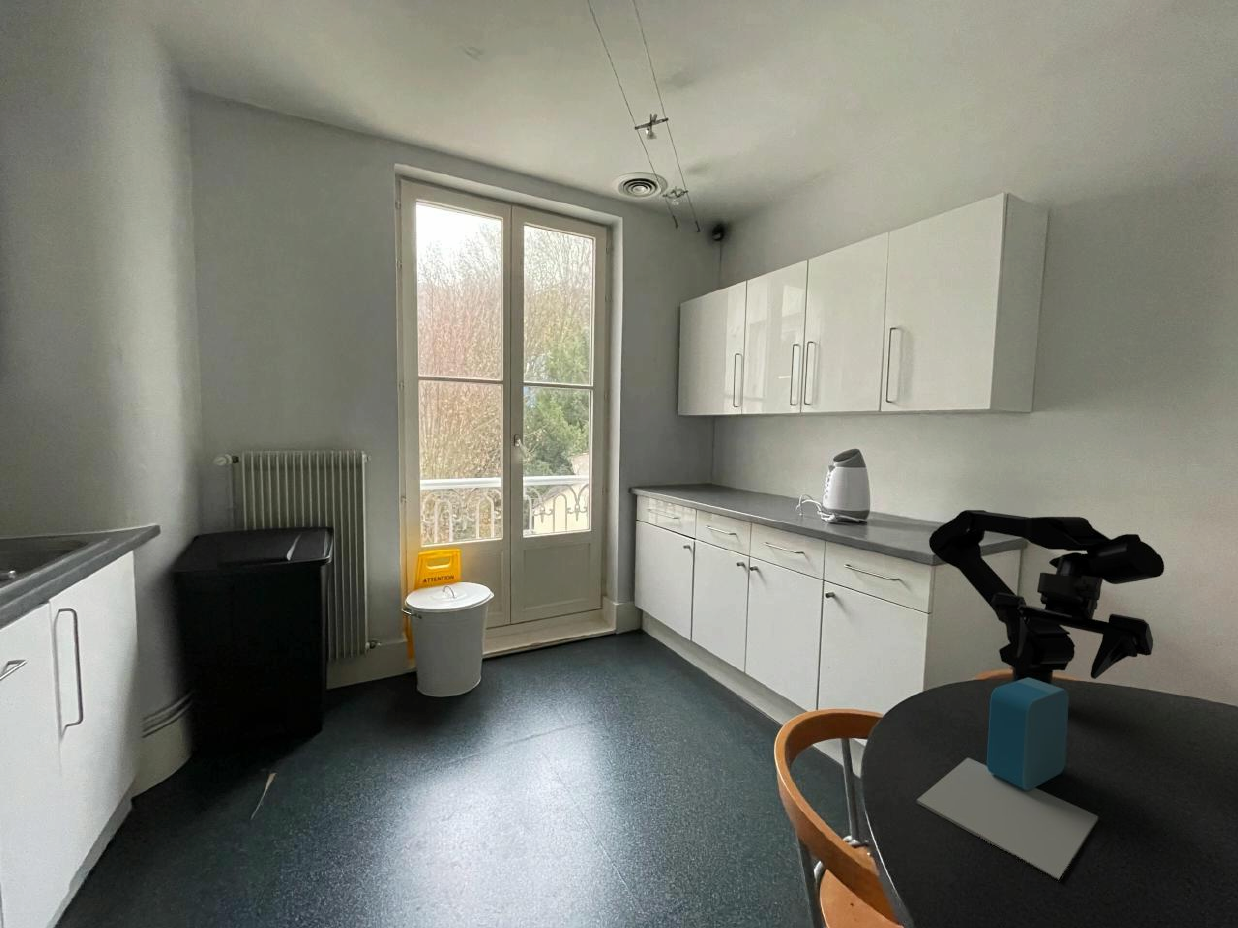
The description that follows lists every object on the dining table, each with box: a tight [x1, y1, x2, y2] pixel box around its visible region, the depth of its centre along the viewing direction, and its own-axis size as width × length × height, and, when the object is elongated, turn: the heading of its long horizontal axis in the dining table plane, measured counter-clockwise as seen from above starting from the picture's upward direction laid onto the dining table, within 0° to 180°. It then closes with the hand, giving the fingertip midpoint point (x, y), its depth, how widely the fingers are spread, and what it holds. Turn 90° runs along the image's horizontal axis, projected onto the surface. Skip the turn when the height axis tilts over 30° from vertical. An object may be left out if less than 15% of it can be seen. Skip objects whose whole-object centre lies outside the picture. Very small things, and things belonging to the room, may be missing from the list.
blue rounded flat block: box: [986, 678, 1070, 791], centre depth 69 cm, size 12×4×12 cm, turn 118°
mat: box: [916, 757, 1099, 880], centre depth 62 cm, size 16×14×1 cm
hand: (1052, 665), depth 76 cm, fingers open, 9 cm apart
